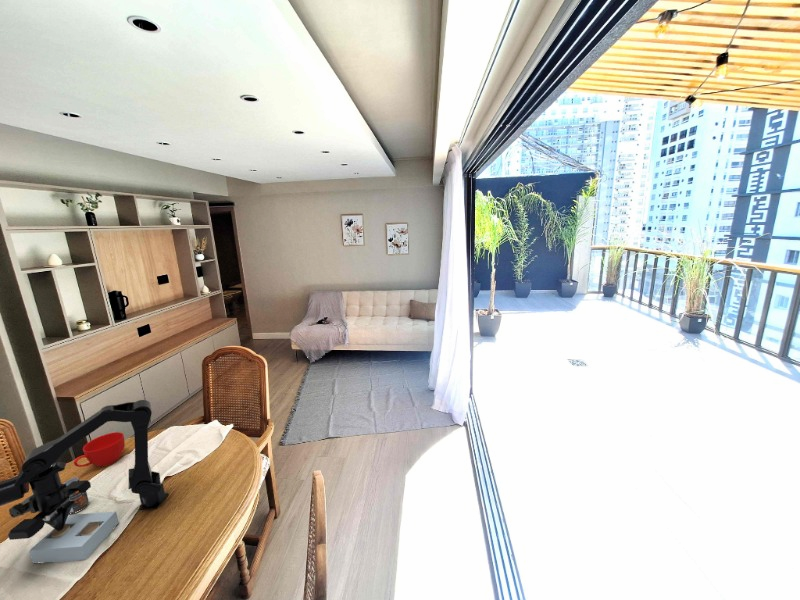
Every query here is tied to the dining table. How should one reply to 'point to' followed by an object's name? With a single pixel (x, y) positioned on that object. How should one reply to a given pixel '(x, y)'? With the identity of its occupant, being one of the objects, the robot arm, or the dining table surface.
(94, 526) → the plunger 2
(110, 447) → the ceramic cup
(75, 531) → the block
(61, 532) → the plunger
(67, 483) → the supplement bottle
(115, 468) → the dining table surface
